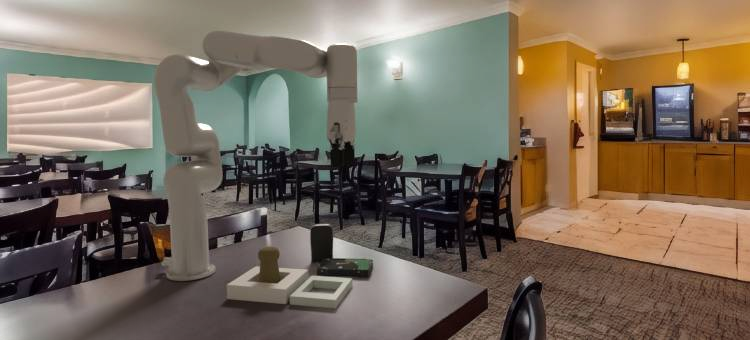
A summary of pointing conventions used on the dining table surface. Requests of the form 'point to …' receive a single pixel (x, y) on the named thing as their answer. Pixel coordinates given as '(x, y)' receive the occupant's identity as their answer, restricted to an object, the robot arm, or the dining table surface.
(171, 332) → the dining table surface
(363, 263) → the disk drive
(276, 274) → the cork
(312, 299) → the green square frame
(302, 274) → the beige square frame
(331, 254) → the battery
